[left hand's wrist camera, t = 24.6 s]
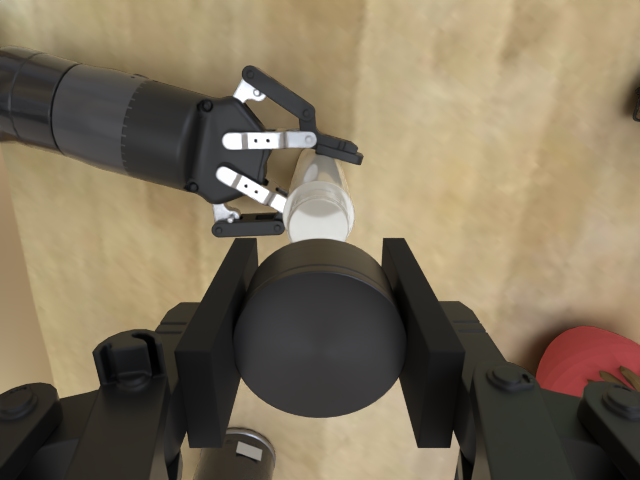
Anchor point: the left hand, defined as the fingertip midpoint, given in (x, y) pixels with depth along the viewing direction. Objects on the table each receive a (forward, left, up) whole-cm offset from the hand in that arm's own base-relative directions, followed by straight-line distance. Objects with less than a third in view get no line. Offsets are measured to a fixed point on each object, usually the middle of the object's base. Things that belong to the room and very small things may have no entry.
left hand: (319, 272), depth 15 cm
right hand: (+3, -1, -18) cm, 19 cm away
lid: (0, 0, +4) cm, 4 cm away
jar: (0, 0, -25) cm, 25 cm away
